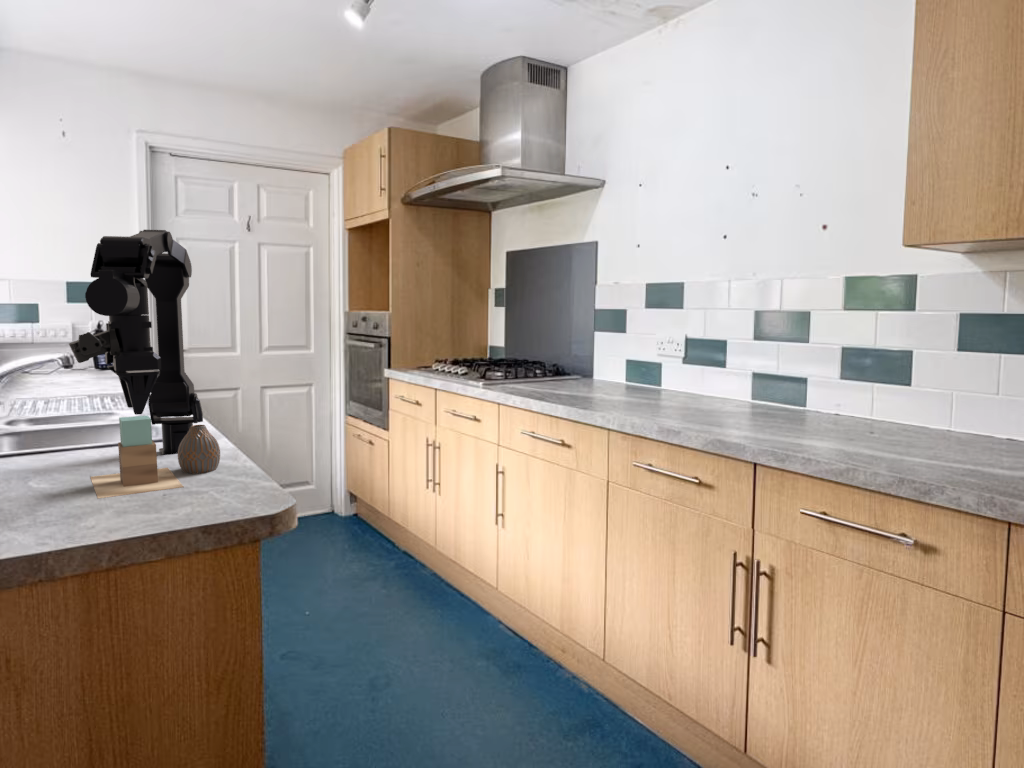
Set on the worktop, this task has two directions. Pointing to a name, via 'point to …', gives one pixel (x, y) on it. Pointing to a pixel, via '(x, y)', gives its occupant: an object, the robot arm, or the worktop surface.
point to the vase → (198, 451)
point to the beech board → (114, 486)
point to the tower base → (138, 474)
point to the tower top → (137, 455)
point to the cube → (135, 431)
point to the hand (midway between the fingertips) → (134, 410)
